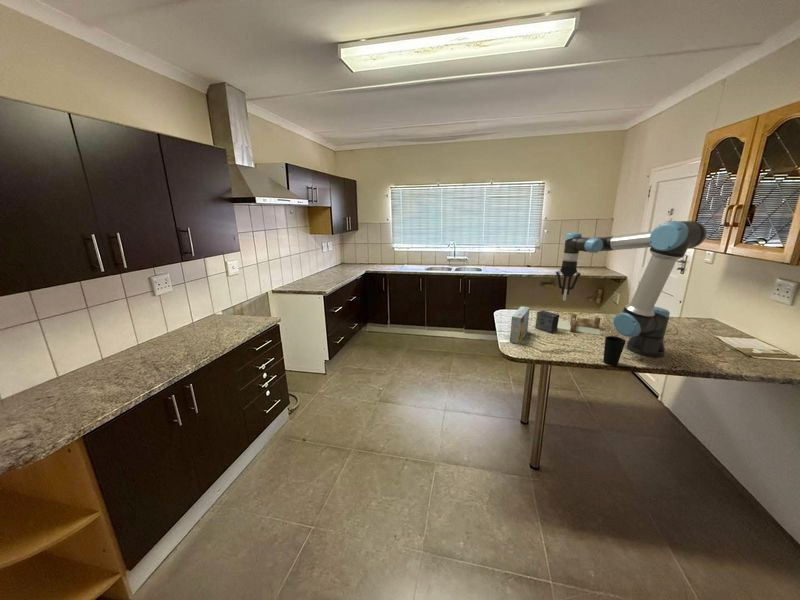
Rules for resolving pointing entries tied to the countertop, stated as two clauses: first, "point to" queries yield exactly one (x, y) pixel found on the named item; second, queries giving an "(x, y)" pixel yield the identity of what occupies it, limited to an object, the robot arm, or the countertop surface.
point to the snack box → (519, 324)
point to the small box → (547, 321)
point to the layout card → (577, 328)
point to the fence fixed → (586, 321)
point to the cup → (613, 350)
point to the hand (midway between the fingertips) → (564, 300)
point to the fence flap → (573, 325)
